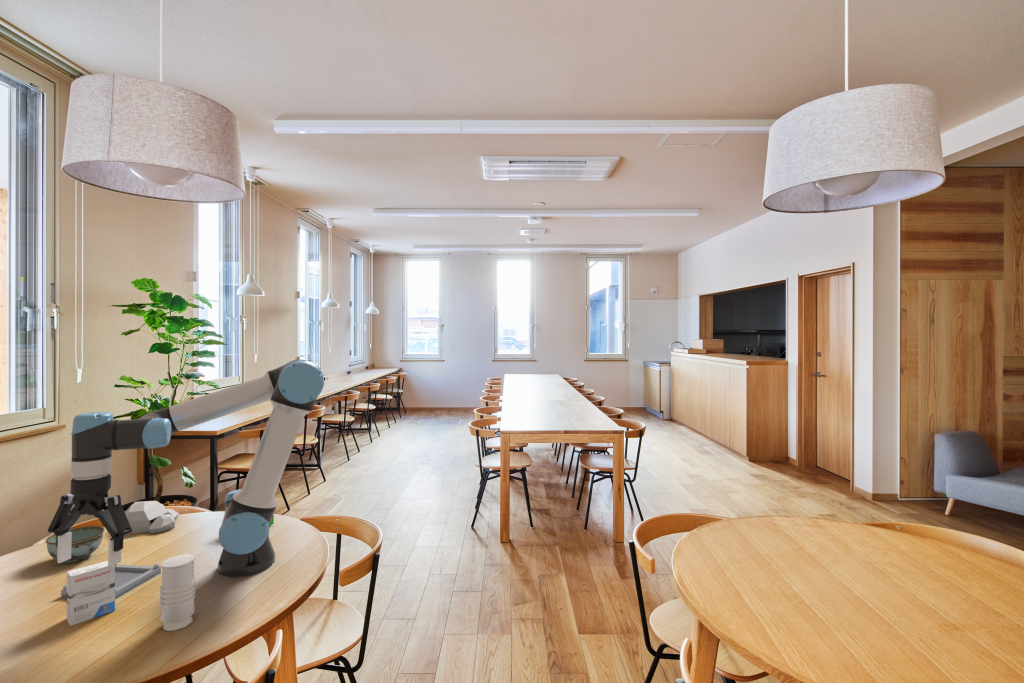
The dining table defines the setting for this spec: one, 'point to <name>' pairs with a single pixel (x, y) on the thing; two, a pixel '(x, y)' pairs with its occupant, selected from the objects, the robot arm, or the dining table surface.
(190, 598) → the white ribbed cylinder
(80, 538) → the bowl
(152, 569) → the grey square tray
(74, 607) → the ink box
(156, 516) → the rock
